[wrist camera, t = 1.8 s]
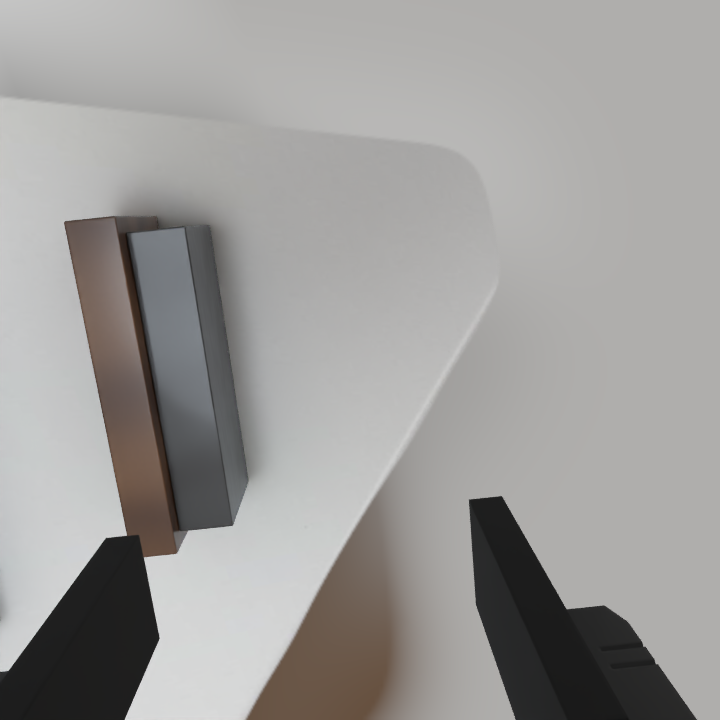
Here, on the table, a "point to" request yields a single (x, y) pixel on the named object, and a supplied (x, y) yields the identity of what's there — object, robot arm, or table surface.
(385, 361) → the table surface
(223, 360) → the two-tone stacked slabs
